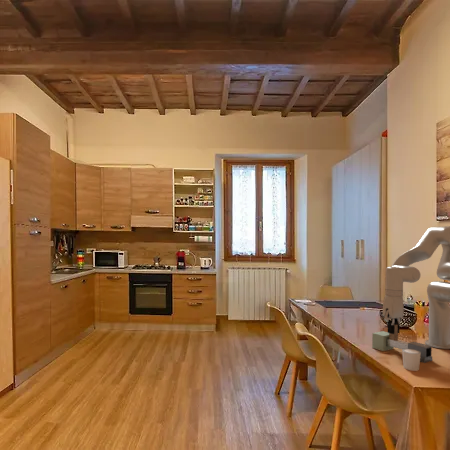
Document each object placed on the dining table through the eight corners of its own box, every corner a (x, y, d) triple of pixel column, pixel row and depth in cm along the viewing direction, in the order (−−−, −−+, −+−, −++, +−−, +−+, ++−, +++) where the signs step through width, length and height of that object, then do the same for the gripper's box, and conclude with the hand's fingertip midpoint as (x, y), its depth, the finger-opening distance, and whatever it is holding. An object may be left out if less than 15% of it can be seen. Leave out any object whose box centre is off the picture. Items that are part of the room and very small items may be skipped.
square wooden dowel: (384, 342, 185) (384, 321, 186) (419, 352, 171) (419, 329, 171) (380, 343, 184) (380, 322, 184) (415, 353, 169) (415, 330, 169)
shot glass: (415, 365, 160) (415, 348, 161) (424, 371, 154) (424, 353, 154) (398, 365, 160) (399, 348, 160) (407, 371, 153) (407, 353, 153)
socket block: (382, 345, 189) (382, 331, 189) (393, 348, 184) (393, 333, 184) (372, 347, 184) (372, 333, 185) (383, 351, 179) (383, 336, 180)
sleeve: (414, 355, 174) (414, 341, 174) (432, 360, 167) (432, 346, 167) (406, 357, 171) (407, 343, 171) (424, 362, 164) (424, 347, 164)
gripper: (397, 291, 188) (396, 329, 187) (376, 293, 179) (375, 333, 178) (411, 293, 181) (411, 332, 181) (390, 295, 172) (390, 337, 172)
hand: (393, 332), depth 180 cm, fingers closed on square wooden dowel, 3 cm apart
